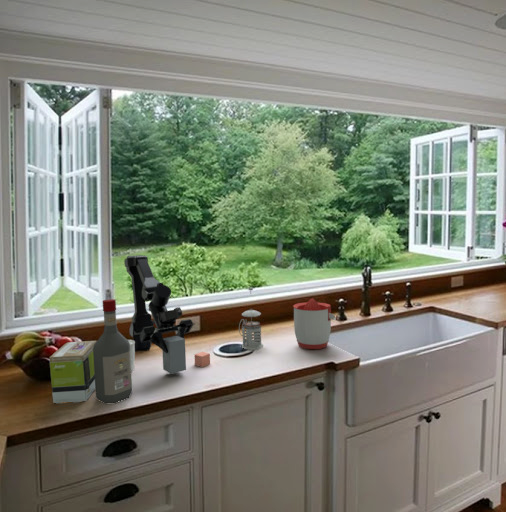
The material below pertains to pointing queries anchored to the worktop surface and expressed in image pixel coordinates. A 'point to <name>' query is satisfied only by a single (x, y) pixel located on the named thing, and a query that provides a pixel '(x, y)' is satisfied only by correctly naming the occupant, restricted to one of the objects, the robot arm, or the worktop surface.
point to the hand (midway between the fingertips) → (175, 350)
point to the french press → (251, 330)
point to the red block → (202, 359)
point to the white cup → (132, 353)
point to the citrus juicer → (312, 324)
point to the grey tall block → (174, 355)
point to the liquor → (112, 360)
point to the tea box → (73, 372)
